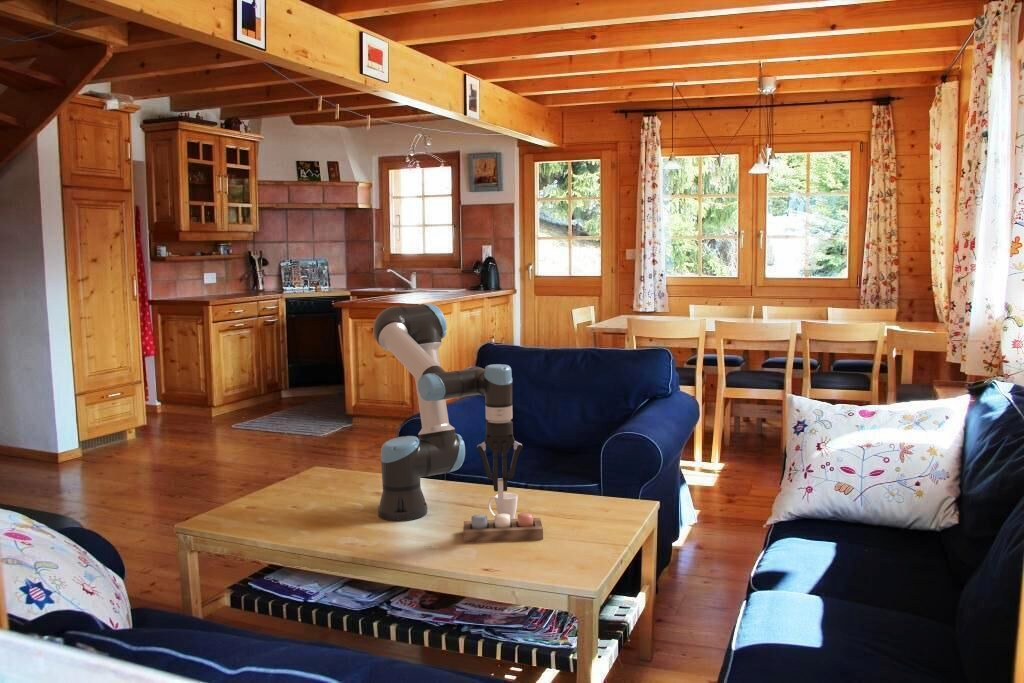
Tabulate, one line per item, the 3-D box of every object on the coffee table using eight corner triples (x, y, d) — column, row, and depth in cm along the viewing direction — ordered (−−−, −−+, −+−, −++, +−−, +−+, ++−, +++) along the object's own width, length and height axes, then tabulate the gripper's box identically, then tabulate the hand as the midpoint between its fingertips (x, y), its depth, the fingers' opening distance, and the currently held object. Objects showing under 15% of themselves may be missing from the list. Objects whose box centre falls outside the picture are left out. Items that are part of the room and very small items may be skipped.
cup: (510, 527, 253) (509, 500, 252) (482, 522, 259) (481, 495, 258) (523, 520, 259) (522, 494, 258) (496, 515, 264) (495, 489, 264)
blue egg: (471, 533, 243) (471, 519, 243) (471, 528, 248) (471, 514, 247) (487, 532, 244) (487, 519, 243) (487, 527, 248) (486, 514, 248)
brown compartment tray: (463, 542, 241) (463, 532, 240) (464, 531, 251) (463, 521, 250) (543, 539, 242) (542, 528, 241) (540, 527, 252) (540, 517, 251)
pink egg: (518, 531, 244) (517, 517, 244) (517, 526, 248) (517, 512, 248) (534, 530, 244) (533, 516, 244) (532, 525, 249) (532, 512, 248)
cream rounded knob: (495, 532, 244) (494, 518, 243) (494, 527, 248) (494, 513, 248) (510, 531, 244) (510, 517, 243) (510, 526, 248) (509, 513, 248)
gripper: (475, 423, 239) (477, 507, 242) (523, 422, 239) (524, 505, 242) (475, 418, 246) (477, 498, 249) (521, 416, 247) (522, 497, 250)
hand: (500, 502), depth 246 cm, fingers closed
